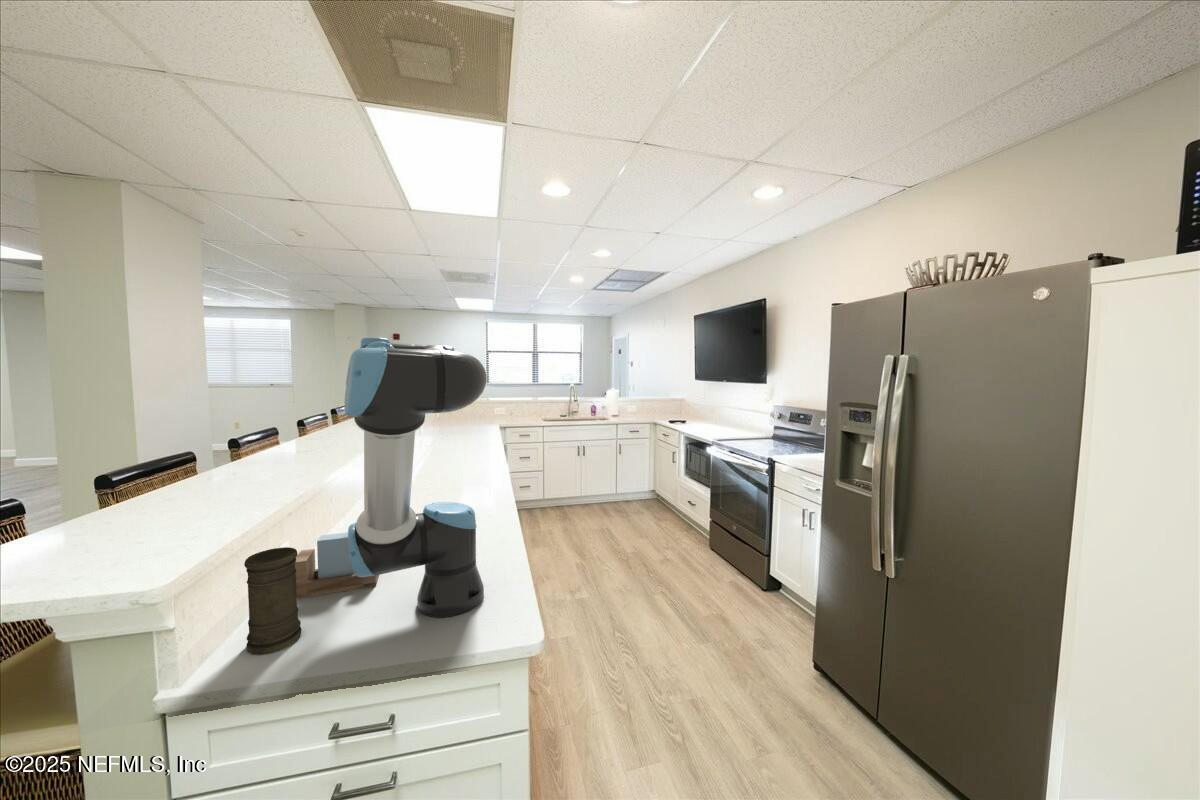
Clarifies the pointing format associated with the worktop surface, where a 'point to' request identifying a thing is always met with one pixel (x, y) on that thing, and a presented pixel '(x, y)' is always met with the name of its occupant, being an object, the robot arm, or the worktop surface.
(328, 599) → the worktop surface
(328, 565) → the door
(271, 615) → the container
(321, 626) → the worktop surface
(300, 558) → the frame
